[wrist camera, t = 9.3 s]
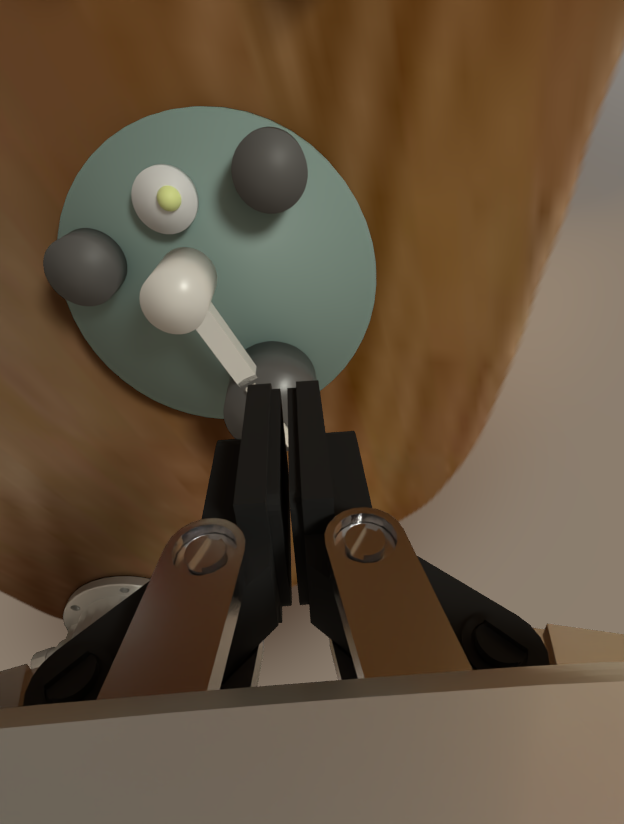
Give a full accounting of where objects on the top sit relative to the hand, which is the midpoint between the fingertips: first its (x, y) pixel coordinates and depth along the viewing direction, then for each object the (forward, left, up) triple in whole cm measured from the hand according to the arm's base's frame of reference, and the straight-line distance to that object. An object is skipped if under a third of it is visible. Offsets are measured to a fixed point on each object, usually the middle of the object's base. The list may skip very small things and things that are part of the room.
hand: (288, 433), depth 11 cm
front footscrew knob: (-5, -3, -17) cm, 18 cm away
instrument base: (-4, -1, -19) cm, 19 cm away
